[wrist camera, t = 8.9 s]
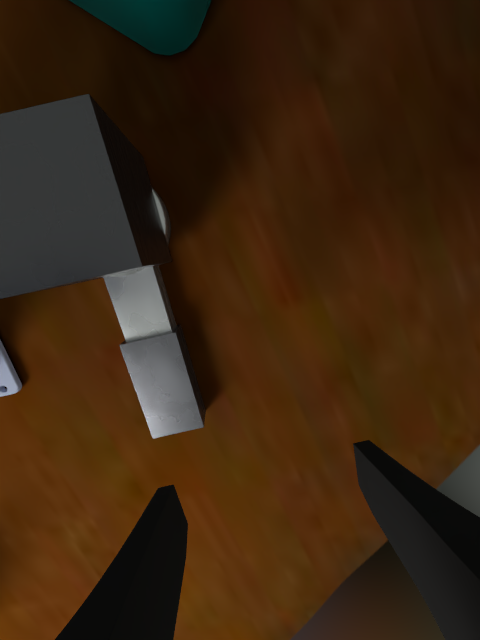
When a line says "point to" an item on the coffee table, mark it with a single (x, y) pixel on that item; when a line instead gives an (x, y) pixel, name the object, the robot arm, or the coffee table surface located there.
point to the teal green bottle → (152, 21)
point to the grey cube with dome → (72, 199)
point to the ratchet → (156, 347)
